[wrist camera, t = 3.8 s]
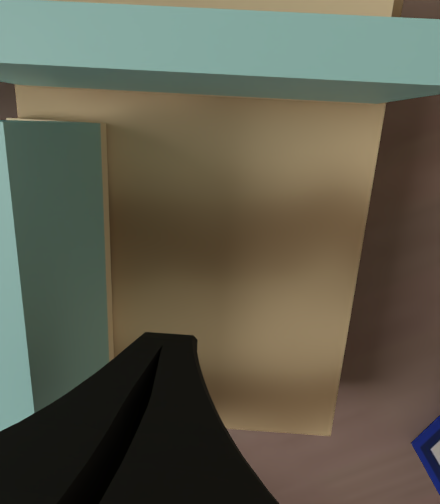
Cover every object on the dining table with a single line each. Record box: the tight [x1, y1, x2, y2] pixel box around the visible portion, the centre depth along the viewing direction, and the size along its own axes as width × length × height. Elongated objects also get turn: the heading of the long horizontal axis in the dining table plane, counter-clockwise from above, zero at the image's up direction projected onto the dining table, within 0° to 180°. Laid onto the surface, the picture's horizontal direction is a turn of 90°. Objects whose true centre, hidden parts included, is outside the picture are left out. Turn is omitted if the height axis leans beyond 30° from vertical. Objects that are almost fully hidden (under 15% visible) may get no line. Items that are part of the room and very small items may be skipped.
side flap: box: [0, 118, 114, 431], centre depth 12 cm, size 3×12×6 cm, turn 177°
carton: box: [15, 0, 403, 436], centre depth 16 cm, size 16×12×4 cm
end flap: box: [0, 0, 440, 105], centre depth 9 cm, size 3×11×6 cm, turn 87°
